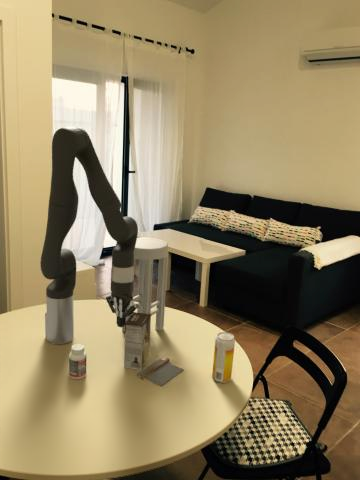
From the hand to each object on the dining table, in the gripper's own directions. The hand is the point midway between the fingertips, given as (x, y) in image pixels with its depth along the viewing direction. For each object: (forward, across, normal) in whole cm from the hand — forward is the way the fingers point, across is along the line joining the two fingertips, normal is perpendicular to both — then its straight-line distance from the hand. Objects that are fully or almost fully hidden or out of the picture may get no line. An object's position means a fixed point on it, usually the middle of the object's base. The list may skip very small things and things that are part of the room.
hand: (121, 326), depth 152 cm
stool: (+11, -6, +19) cm, 23 cm away
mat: (+11, +17, 0) cm, 20 cm away
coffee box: (+11, +7, 0) cm, 13 cm away
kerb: (+11, +15, 0) cm, 19 cm away
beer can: (+11, +34, +10) cm, 37 cm away
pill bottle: (+11, -2, -18) cm, 21 cm away
